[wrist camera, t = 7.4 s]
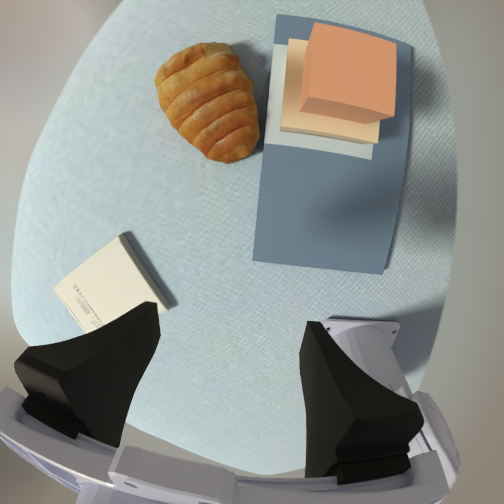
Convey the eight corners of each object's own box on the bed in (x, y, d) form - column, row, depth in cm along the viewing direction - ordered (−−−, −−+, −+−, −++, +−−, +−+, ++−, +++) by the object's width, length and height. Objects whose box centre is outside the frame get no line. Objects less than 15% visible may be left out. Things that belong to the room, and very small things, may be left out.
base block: (360, 144, 18) (377, 143, 14) (279, 131, 18) (280, 126, 15) (366, 71, 16) (382, 57, 12) (286, 56, 16) (288, 38, 13)
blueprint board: (379, 270, 22) (383, 275, 21) (253, 257, 22) (252, 261, 22) (406, 47, 15) (411, 44, 14) (276, 18, 15) (276, 13, 14)
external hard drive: (173, 302, 25) (99, 337, 28) (125, 230, 23) (60, 281, 26) (168, 312, 24) (93, 344, 27) (116, 236, 22) (52, 287, 24)
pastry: (283, 139, 19) (285, 137, 16) (205, 179, 21) (190, 185, 17) (227, 42, 17) (217, 23, 13) (154, 84, 18) (132, 74, 15)
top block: (364, 124, 14) (394, 116, 10) (299, 111, 14) (308, 96, 10) (368, 66, 13) (396, 43, 9) (304, 53, 13) (314, 22, 9)
